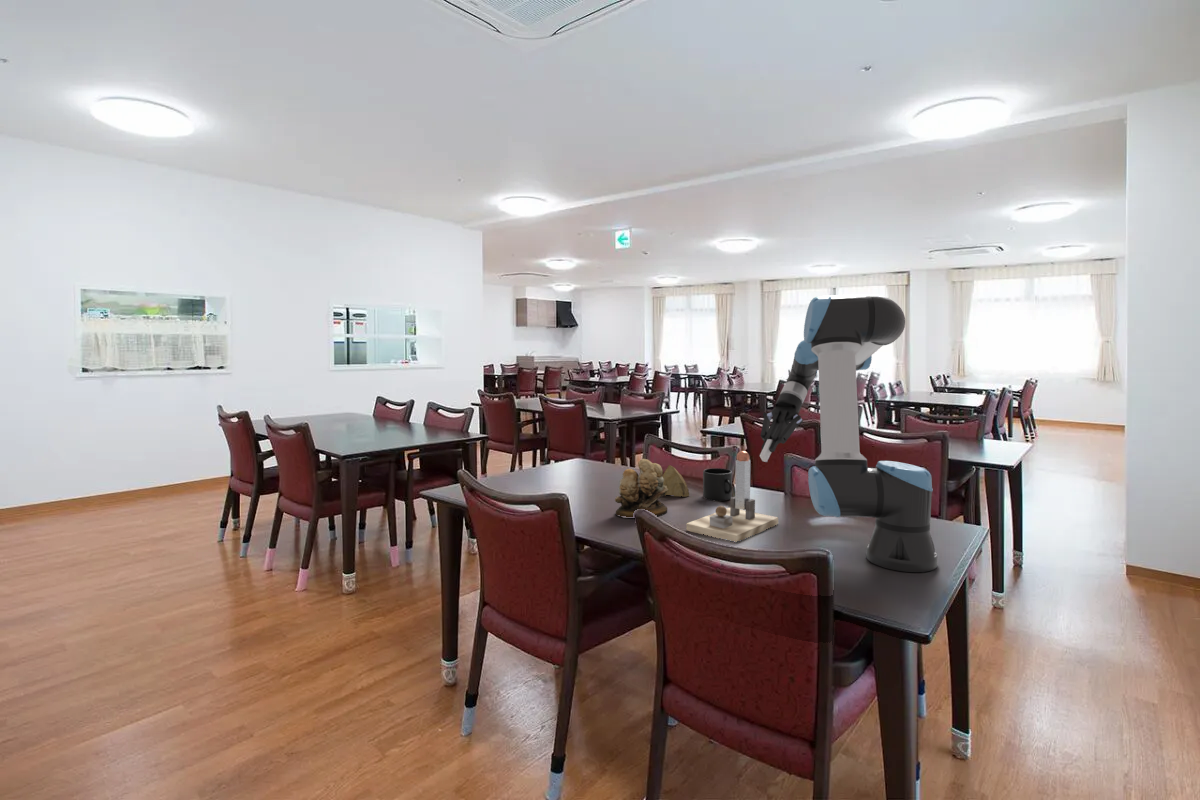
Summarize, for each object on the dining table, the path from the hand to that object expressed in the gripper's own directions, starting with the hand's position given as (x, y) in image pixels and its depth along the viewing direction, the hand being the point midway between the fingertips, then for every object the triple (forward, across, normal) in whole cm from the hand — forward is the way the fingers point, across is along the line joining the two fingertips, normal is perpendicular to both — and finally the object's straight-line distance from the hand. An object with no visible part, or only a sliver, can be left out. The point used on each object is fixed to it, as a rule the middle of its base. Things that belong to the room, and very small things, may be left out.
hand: (763, 459), depth 186 cm
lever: (+18, -1, 0) cm, 18 cm away
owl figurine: (+29, +28, +5) cm, 40 cm away
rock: (+12, +34, -12) cm, 38 cm away
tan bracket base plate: (+25, -1, +1) cm, 25 cm away
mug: (+8, +20, -17) cm, 27 cm away
